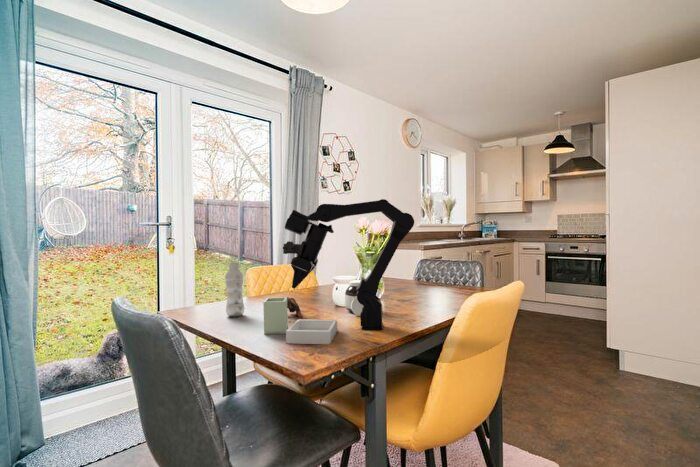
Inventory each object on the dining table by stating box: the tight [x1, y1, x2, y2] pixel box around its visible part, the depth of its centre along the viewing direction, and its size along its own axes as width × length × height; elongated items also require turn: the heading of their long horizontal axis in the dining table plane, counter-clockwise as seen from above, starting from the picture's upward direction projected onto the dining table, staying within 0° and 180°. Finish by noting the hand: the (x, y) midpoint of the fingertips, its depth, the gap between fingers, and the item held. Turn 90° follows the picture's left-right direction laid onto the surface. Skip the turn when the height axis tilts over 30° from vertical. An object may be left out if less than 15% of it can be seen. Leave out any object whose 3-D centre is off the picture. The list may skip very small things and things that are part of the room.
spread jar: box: [344, 279, 364, 317], centre depth 135 cm, size 12×11×12 cm
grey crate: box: [285, 318, 338, 345], centre depth 105 cm, size 13×13×4 cm
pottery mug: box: [286, 296, 303, 319], centre depth 131 cm, size 12×10×8 cm
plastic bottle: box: [224, 261, 245, 318], centre depth 132 cm, size 6×7×20 cm
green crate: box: [262, 296, 289, 336], centre depth 112 cm, size 6×6×10 cm
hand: (295, 285), depth 114 cm, fingers open, 9 cm apart
